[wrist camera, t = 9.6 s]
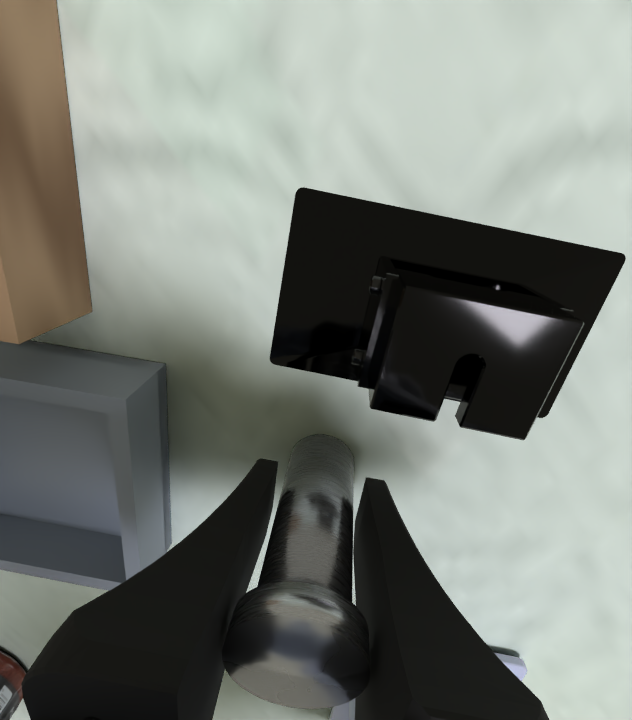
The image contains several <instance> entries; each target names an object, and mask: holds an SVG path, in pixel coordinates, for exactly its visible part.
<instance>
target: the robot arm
mask: <svg viewBox="0 0 632 720" xmlns="http://www.w3.org/2000/svg"><path fill="white" fill-rule="evenodd" d="M277 467H278V462H277V461H272V460H266V459H259V460H257V462H256V463H255V465H254V466H253V467H252V469H251V470H250V472H249V473H248V474H247V475H246V477H245V478H244V479H243V480H242V482H241V483H240V484H239V485H238V486H237V488H236V489H235V490H234V491H233V492H232V493H231V494H230V495H229V497H228V498H227V499H226V500H225V501H224V502H223V503H222V504H221V505H220V506H219V507H218V508H217V509H216V510H215V511H214V512H213V513H212V514H211V515H210V516H209V517H208V518H207V519H206V520H205V521H204V522H203V523H202V524H201V525H199V526H198V527H197V528H196V529H195V530H194V531H193V532H192V533H190V534H189V535H188V536H187V537H186V538H184V539H183V540H182V541H181V542H180V543H178V544H177V545H176V546H174V547H173V548H172V549H171V550H169V551H168V552H167V553H165V554H164V555H163V556H161V557H160V558H159V559H157V560H156V561H155V562H153V563H152V564H150V565H149V566H147V567H146V568H144V569H143V570H141V571H140V572H138V573H137V574H135V575H134V576H132V577H131V578H129V579H128V580H126V581H124V582H123V583H121V584H120V585H118V586H116V587H115V588H113V589H111V590H110V591H108V592H106V593H104V594H103V595H101V596H99V597H97V598H96V599H94V600H92V601H90V602H88V603H87V604H85V605H83V606H81V607H80V608H78V609H76V610H74V611H73V612H72V613H71V615H70V616H69V617H68V618H67V619H66V620H65V622H64V623H63V624H62V625H61V626H60V628H59V629H58V630H57V631H56V633H55V634H54V635H53V636H52V637H51V639H50V640H49V641H48V643H47V644H46V646H45V647H44V649H43V650H42V652H41V653H40V654H39V656H38V657H37V659H36V660H35V662H34V663H33V665H32V666H31V668H30V669H29V670H28V672H27V673H26V675H25V676H24V679H23V681H22V683H21V685H22V694H23V699H24V702H25V704H26V707H27V710H28V713H29V716H30V718H31V720H212V718H213V714H214V710H215V706H216V702H217V698H218V694H219V690H220V686H221V682H222V678H223V674H224V670H225V667H224V665H223V661H222V648H223V644H224V641H225V638H226V634H227V631H228V628H229V624H230V621H231V618H232V614H233V611H234V608H235V606H236V604H237V602H238V601H239V599H240V598H241V597H242V596H243V595H245V594H246V591H247V588H248V585H249V582H250V580H251V577H252V574H253V571H254V568H255V565H256V562H257V560H258V557H259V554H260V551H261V548H262V545H263V542H264V539H265V536H266V533H267V528H268V524H269V520H270V516H271V512H272V507H273V500H274V492H275V483H276V475H277ZM353 554H354V574H355V592H356V607H357V608H358V609H359V610H360V611H361V613H362V614H363V616H364V617H365V619H366V621H367V624H368V628H369V648H370V680H369V683H368V685H367V687H366V689H365V690H364V691H363V692H362V693H361V694H360V695H359V696H358V697H356V698H355V699H353V700H351V701H349V702H347V703H345V704H342V705H339V706H334V707H332V711H331V714H330V717H329V720H549V718H548V716H547V714H546V712H545V710H544V707H543V705H542V702H541V701H540V700H539V699H538V698H537V697H536V696H535V695H534V694H533V693H532V692H531V691H530V690H529V689H528V688H527V687H526V686H525V685H524V684H523V683H522V682H521V681H522V679H523V678H524V676H525V675H526V673H527V668H526V665H525V663H524V661H523V660H522V659H521V658H518V657H514V656H509V655H504V654H499V653H494V652H493V651H492V650H491V649H490V648H489V647H488V646H487V644H486V643H485V642H484V641H483V640H482V639H481V638H480V636H479V635H478V634H477V633H476V631H475V630H474V629H473V628H472V626H471V625H470V624H469V623H468V621H467V620H466V619H465V618H464V617H463V615H462V614H461V613H460V612H459V610H458V609H457V608H456V606H455V605H454V604H453V602H452V601H451V600H450V598H449V597H448V595H447V594H446V593H445V591H444V590H443V588H442V587H441V585H440V584H439V582H438V581H437V580H436V578H435V577H434V575H433V573H432V572H431V570H430V569H429V567H428V566H427V564H426V562H425V561H424V559H423V557H422V556H421V554H420V552H419V550H418V549H417V547H416V545H415V543H414V542H413V540H412V538H411V536H410V534H409V532H408V530H407V528H406V526H405V524H404V522H403V520H402V518H401V516H400V514H399V512H398V510H397V508H396V505H395V503H394V501H393V499H392V496H391V494H390V491H389V489H388V486H387V484H386V482H385V481H384V480H378V479H372V478H367V477H366V480H365V484H364V488H363V492H362V496H361V500H360V504H359V508H358V512H357V516H356V520H355V531H354V550H353Z"/></svg>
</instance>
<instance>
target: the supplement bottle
mask: <svg viewBox="0 0 632 720" xmlns="http://www.w3.org/2000/svg"><path fill="white" fill-rule="evenodd" d="M25 675H26V672H25V671H24V669H23V668H22V667H21V666H20V664H19V663H18V662H17V661H16V660H15V659H14V658H13V657H11V656H10V655H8V654H7V653H5V652H3V651H1V650H0V720H10V718H11V717H12V715H13V713H14V712H15V710H16V709H17V707H18V705H19V703H20V702H21V700H22V699H23V694H22V685H21V683H22V681H23V679H24V676H25Z"/></svg>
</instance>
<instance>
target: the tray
mask: <svg viewBox="0 0 632 720" xmlns="http://www.w3.org/2000/svg"><path fill="white" fill-rule="evenodd" d="M171 543H172V541H171V511H170V480H169V449H168V418H167V388H166V364H163V363H157V362H152V361H146V360H140V359H134V358H128V357H122V356H117V355H111V354H105V353H99V352H93V351H87V350H81V349H76V348H70V347H64V346H58V345H52V344H46V343H41V342H35V341H29V340H28V341H25V342H23V343H21V344H15V343H9V342H3V341H0V570H5V571H10V572H16V573H21V574H26V575H31V576H36V577H42V578H47V579H52V580H57V581H62V582H67V583H73V584H78V585H83V586H88V587H93V588H98V589H104V590H109V591H110V590H111V589H113V588H115V587H116V586H118V585H120V584H121V583H123V582H124V581H126V580H128V579H129V578H131V577H132V576H134V575H135V574H137V573H138V572H140V571H141V570H143V569H144V568H146V567H147V566H149V565H150V564H152V563H153V562H155V561H156V560H157V559H159V558H160V557H161V556H163V555H164V554H165V553H166V552H167V550H168V548H169V547H170V545H171Z"/></svg>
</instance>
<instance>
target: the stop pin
mask: <svg viewBox="0 0 632 720" xmlns="http://www.w3.org/2000/svg"><path fill="white" fill-rule="evenodd" d="M353 483H354V459H353V455H352V453H351V451H350V449H349V448H348V447H347V445H346V444H344V443H343V442H342V441H340V440H339V439H337V438H335V437H332V436H328V435H312V436H308V437H306V438H304V439H302V440H300V441H299V442H298V443H297V444H296V445H295V446H294V448H293V450H292V453H291V456H290V460H289V464H288V468H287V472H286V476H285V480H284V484H283V488H282V492H281V496H280V500H279V504H278V508H277V512H276V515H275V519H274V523H273V527H272V531H271V535H270V539H269V543H268V547H267V551H266V555H265V559H264V563H263V567H262V571H261V575H260V578H259V582H258V586H257V588H254V589H252V590H251V591H249V592H247V593H246V594H245V595H243V596H242V597H241V598H240V599H239V601H238V602H237V604H236V606H235V608H234V611H233V614H232V618H231V621H230V624H229V628H228V631H227V634H226V638H225V641H224V644H223V648H222V661H223V665H224V667H225V669H226V671H227V672H228V674H229V675H230V676H231V678H232V679H233V680H234V681H235V682H236V683H237V684H239V685H240V686H241V687H242V688H244V689H245V690H247V691H248V692H250V693H252V694H253V695H255V696H257V697H260V698H262V699H264V700H267V701H269V702H272V703H276V704H279V705H283V706H288V707H294V708H303V709H322V708H330V707H334V706H339V705H342V704H345V703H347V702H349V701H351V700H353V699H355V698H356V697H358V696H359V695H360V694H361V693H362V692H363V691H364V690H365V689H366V687H367V685H368V683H369V680H370V648H369V628H368V624H367V621H366V619H365V617H364V616H363V614H362V613H361V611H360V610H359V609H358V608H357V607H356V606H355V605H354V604H353V603H352V560H353Z"/></svg>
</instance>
